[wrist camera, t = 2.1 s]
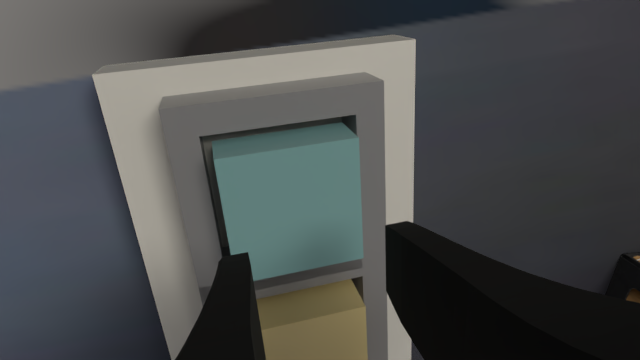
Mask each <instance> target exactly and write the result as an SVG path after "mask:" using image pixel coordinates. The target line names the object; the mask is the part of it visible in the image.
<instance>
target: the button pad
mask: <svg viewBox="0 0 640 360" xmlns="http://www.w3.org/2000/svg"><path fill="white" fill-rule="evenodd" d="M415 44H416V39H412V38H407V37H402V36H398V35H386V36H377V37H368V38H358V39H349V40H339V41H330V42H320V43H311V44H302V45H292V46H283V47H273V48H264V49H255V50H245V51H236V52H226V53H217V54H207V55H198V56H190V57H179V58H170V59H162V60H151V61H142V62H133V63H123V64H114V65H105V66H103V67H102V68H100V69H99V70H98V71H96V72H95V73H94V74H92V77H93V80H94V84H95V87H96V91H97V95H98V98H99V102H100V105H101V109H102V112H103V116H104V120H105V123H106V127H107V130H108V134H109V138H110V141H111V145H112V148H113V152H114V156H115V159H116V163H117V166H118V170H119V174H120V177H121V181H122V184H123V188H124V192H125V195H126V199H127V202H128V206H129V209H130V213H131V217H132V220H133V224H134V227H135V231H136V235H137V238H138V242H139V245H140V249H141V253H142V256H143V260H144V263H145V267H146V271H147V274H148V278H149V281H150V285H151V289H152V292H153V296H154V299H155V303H156V307H157V310H158V314H159V317H160V321H161V324H162V328H163V332H164V335H165V339H166V342H167V346H168V350H169V353H170V357H171V360H175V359H176V357H177V356H178V354H179V352H180V350H181V349H182V347H183V345H184V344H185V342H186V340H187V338H188V336H189V334H190V332H191V330H192V328H193V326H194V324H195V323H196V321H197V319H198V317H199V315H200V312H201V310H202V308H203V306H204V303H205V301H206V299H207V296H208V294H209V292H210V289H211V286H212V283H213V281H214V278H215V275H216V271H217V267H218V262H219V261H220V260H221V258H222V257H225V256H230V255H231V253H230V248H229V242H228V237H227V231H226V226H225V220H224V215H223V209H222V204H221V198H220V193H219V187H218V182H217V177H216V171H215V166H214V160H213V149H212V141H216V140H223V139H229V138H236V137H243V136H250V135H257V134H264V133H271V132H278V131H285V130H292V129H299V128H306V127H313V126H320V125H327V124H334V123H341V122H342V123H343V124H344V125H346V126H347V127H348V128H349V129H350V130H351V131H352V132H353V133H354V134H356V135H357V136H358V137H359V153H360V179H361V204H362V230H363V256H364V258H362V259H357V260H352V261H348V262H343V263H338V264H333V265H328V266H324V267H319V268H314V269H309V270H304V271H300V272H295V273H290V274H285V275H280V276H276V277H271V278H266V279H261V280H256V281H253V282H254V288H255V294H256V299H260V298H264V297H269V296H274V295H278V294H283V293H287V292H292V291H297V290H301V289H306V288H311V287H315V286H320V285H324V284H329V283H334V282H338V281H343V280H347V279H351V280H352V282H353V283H354V285H355V287H356V289H357V291H358V293H359V295H360V297H361V299H362V300H363V302H364V304H365V306H366V328H367V354H368V360H411V338H410V336H409V335H408V333H407V332H406V330H405V329H404V327H403V325H402V324H401V322H400V320H399V318H398V315H397V313H396V311H395V309H394V307H393V305H392V303H391V300H390V298H389V296H388V294H387V291H386V253H385V225H389V224H394V223H399V222H404V221H409V222H412V223H413V186H414V115H415Z"/></svg>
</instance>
